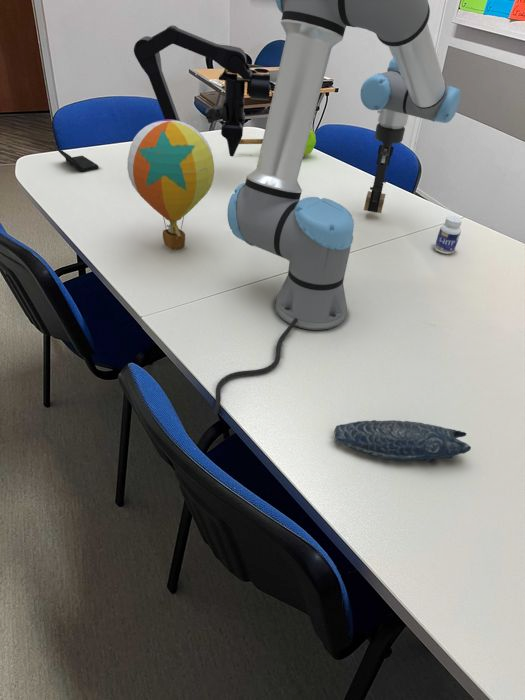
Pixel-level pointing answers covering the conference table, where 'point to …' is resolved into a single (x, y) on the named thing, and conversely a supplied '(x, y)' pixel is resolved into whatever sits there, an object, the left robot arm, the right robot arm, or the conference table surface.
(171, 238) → the toy
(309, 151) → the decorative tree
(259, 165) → the right robot arm
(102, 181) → the conference table surface
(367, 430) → the fish model
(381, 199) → the brown cardboard box
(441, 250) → the pill bottle
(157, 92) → the left robot arm
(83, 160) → the black flat handled piece
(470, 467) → the conference table surface
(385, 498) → the conference table surface
